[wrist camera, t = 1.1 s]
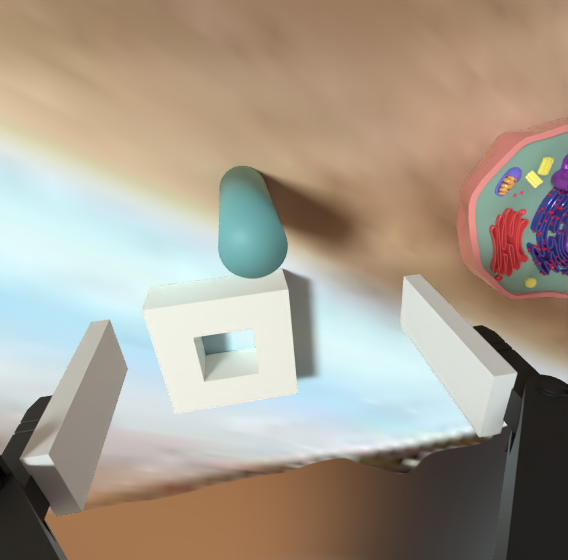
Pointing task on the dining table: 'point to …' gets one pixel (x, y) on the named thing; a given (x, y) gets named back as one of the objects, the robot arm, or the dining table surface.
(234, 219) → the peg
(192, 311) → the socket block
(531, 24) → the dining table surface
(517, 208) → the cell model
